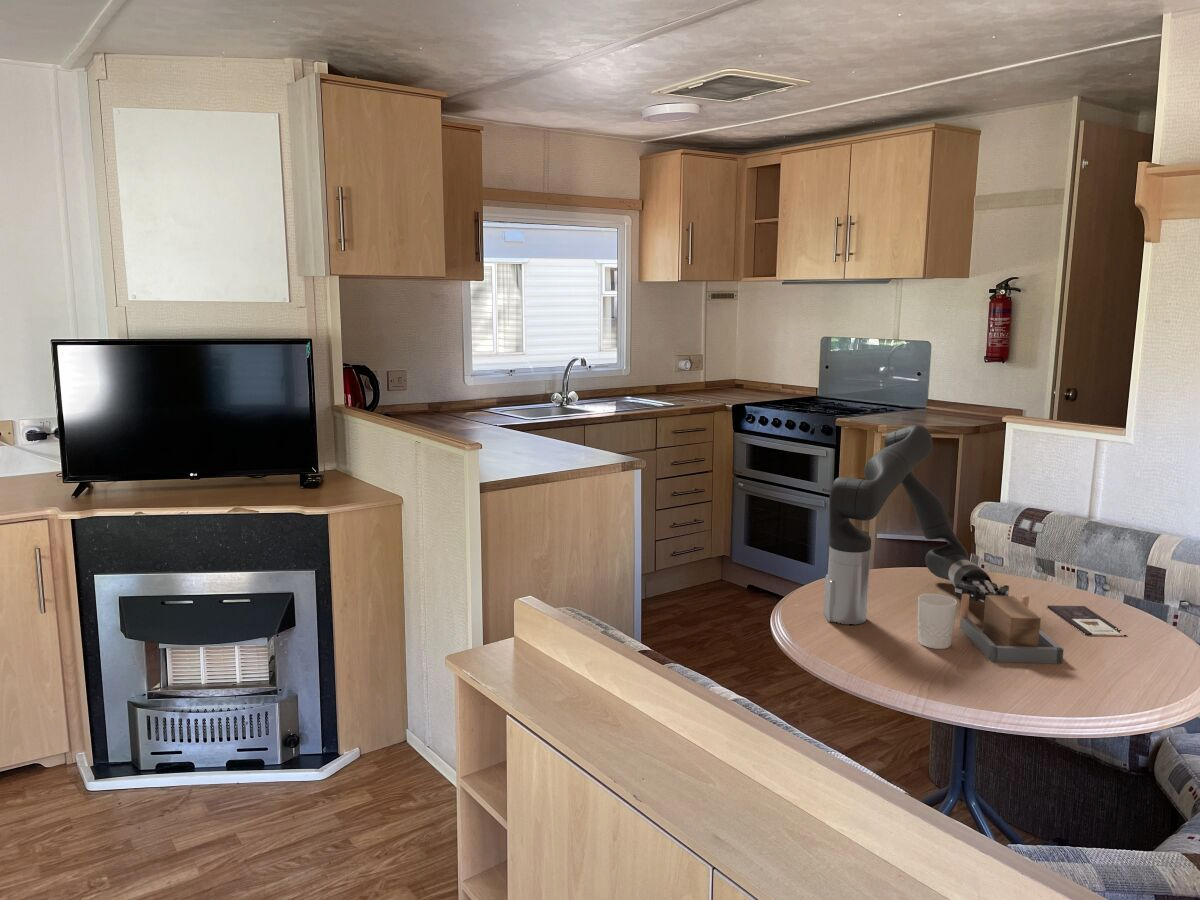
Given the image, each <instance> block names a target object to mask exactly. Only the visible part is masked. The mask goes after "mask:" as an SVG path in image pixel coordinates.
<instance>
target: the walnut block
mask: <svg viewBox="0 0 1200 900" xmlns="http://www.w3.org/2000/svg"><path fill="white" fill-rule="evenodd" d="M1041 619H1042V618H1041V617H1040V616H1038V615H1037V614H1036V613H1034V611H1032V610H1031V609H1030V608H1029V607H1028V608H1027V607H1026V606H1025V605H1024V604H1022V603H1021V600H1019V599H1018V598H1017V597H1015V596H1014V595H1008V596H997V595H986V599H985V602H984V612H983V622H982V623H983V624H982V632H983V633H984V634H985V635H986V636H987V637H988V638H989V639H990V640H991V641H992V642H993V643H994V644H995V645H996V646H1025V647H1038V641H1039V631H1040V630H1041V629H1040V628H1041Z"/></svg>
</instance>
